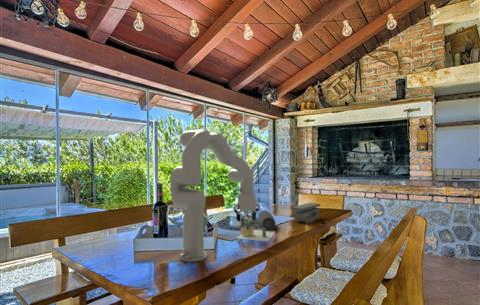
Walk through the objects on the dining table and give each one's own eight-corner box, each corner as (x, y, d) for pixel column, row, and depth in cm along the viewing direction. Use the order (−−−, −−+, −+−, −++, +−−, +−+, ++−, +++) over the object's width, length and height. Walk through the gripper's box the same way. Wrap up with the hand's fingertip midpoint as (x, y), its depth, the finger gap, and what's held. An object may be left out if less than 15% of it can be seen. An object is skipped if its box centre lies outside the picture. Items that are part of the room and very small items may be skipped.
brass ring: (255, 235, 164) (255, 228, 164) (244, 237, 161) (244, 230, 161) (249, 232, 170) (249, 225, 170) (239, 234, 167) (239, 227, 167)
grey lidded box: (310, 217, 218) (310, 202, 218) (320, 218, 212) (320, 203, 212) (291, 222, 200) (291, 207, 200) (301, 224, 194) (301, 208, 194)
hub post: (248, 235, 164) (248, 226, 164) (244, 235, 165) (244, 226, 165) (250, 234, 166) (250, 225, 166) (245, 234, 167) (245, 225, 167)
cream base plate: (267, 243, 153) (267, 232, 153) (235, 240, 159) (235, 229, 160) (275, 234, 172) (275, 224, 172) (247, 231, 178) (247, 221, 178)
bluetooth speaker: (257, 224, 198) (257, 209, 198) (270, 223, 198) (270, 209, 198) (261, 233, 175) (260, 216, 175) (276, 232, 175) (276, 216, 175)
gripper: (235, 191, 159) (235, 222, 158) (263, 190, 166) (262, 220, 165) (230, 190, 165) (229, 220, 165) (256, 189, 173) (256, 218, 172)
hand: (246, 220), depth 165 cm, fingers open, 9 cm apart
